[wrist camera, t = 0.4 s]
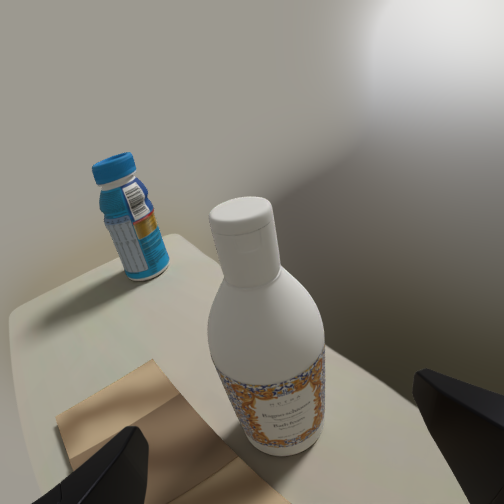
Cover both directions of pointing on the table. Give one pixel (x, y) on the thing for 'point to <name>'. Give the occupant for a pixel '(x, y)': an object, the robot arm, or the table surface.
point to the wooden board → (164, 442)
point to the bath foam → (265, 333)
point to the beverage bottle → (130, 218)
